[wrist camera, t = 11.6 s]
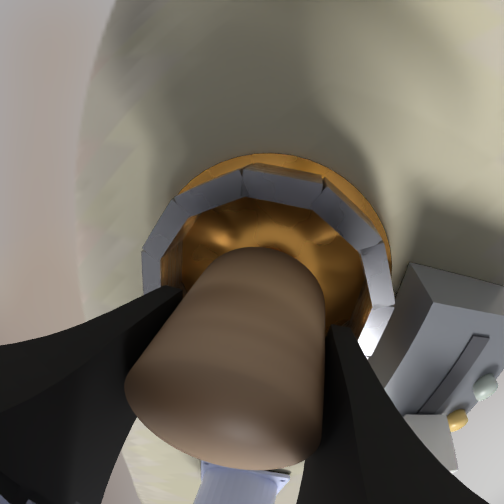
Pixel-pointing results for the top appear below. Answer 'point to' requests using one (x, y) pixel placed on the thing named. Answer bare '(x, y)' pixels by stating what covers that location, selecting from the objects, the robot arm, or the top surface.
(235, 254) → the brown tapered cylinder
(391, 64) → the top surface
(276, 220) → the ring
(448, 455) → the handle
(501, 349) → the switch box
